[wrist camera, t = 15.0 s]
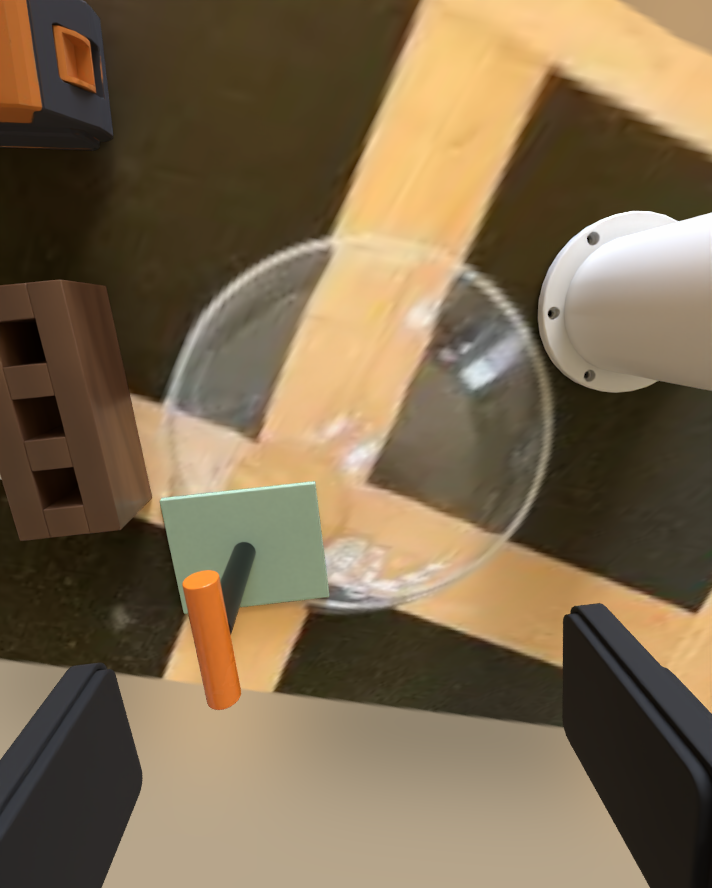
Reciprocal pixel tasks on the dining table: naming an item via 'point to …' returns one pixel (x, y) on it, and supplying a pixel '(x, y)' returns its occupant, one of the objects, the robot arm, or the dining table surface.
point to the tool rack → (66, 413)
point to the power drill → (52, 76)
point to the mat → (251, 539)
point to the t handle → (218, 623)
